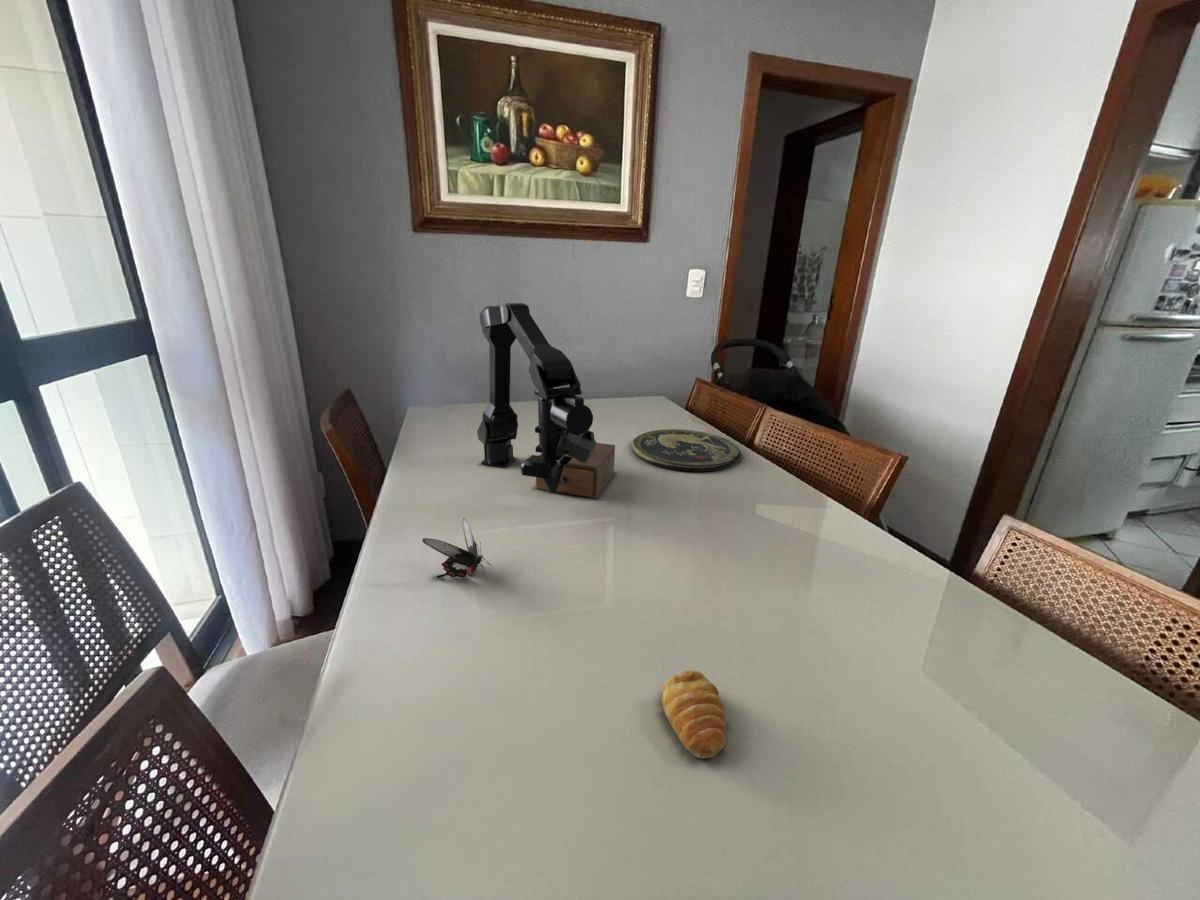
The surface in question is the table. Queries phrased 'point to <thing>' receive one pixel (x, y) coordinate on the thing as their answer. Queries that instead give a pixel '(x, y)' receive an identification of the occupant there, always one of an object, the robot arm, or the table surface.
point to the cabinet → (597, 466)
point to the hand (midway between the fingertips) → (553, 492)
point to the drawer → (573, 481)
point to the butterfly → (458, 554)
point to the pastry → (695, 713)
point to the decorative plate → (686, 450)
